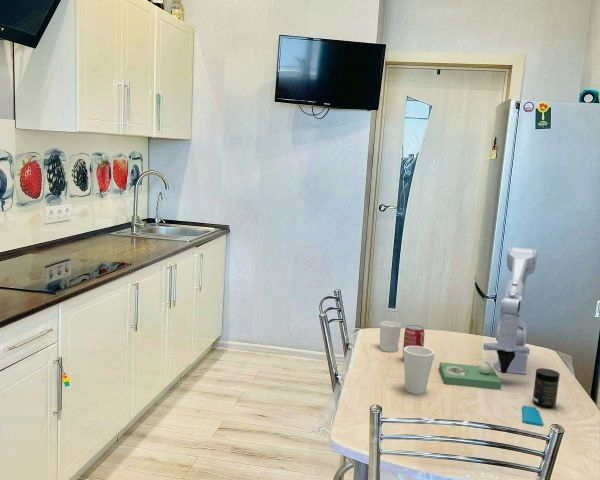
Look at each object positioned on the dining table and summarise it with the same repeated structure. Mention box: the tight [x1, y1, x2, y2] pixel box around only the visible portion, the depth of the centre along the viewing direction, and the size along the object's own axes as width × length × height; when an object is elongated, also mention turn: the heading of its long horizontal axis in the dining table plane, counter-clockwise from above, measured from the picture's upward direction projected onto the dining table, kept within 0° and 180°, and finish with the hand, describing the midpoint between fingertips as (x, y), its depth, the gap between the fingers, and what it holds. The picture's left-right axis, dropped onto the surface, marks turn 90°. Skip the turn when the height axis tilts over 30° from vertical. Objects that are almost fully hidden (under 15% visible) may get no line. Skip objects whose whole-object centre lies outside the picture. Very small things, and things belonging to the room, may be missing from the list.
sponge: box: [521, 404, 544, 427], centre depth 171 cm, size 2×12×6 cm
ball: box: [478, 361, 492, 374], centre depth 197 cm, size 4×4×4 cm
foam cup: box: [402, 346, 435, 395], centre depth 185 cm, size 10×9×13 cm
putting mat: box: [438, 361, 502, 391], centre depth 198 cm, size 18×14×2 cm
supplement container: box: [532, 367, 561, 410], centre depth 180 cm, size 7×7×10 cm
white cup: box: [379, 320, 402, 353], centre depth 224 cm, size 8×8×10 cm
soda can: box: [402, 324, 426, 361], centre depth 211 cm, size 7×7×13 cm
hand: (503, 372), depth 197 cm, fingers closed
